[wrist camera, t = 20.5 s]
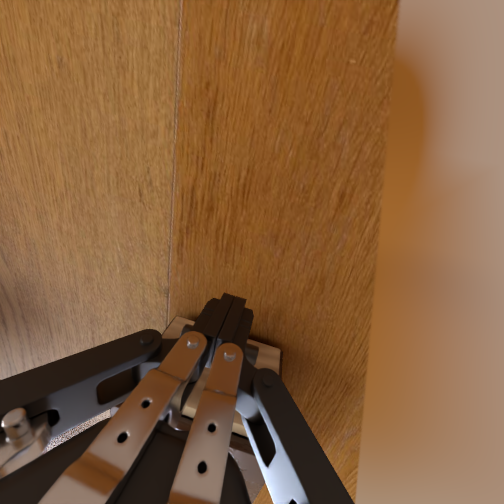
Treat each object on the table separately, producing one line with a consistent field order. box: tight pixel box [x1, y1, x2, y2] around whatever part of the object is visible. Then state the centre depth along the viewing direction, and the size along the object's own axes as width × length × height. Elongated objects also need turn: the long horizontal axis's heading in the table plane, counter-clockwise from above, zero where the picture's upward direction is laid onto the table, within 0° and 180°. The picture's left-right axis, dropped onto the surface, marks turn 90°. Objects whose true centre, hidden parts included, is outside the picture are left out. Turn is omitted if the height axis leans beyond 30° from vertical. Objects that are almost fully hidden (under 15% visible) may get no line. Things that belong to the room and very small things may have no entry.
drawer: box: [162, 316, 280, 440], centre depth 21 cm, size 18×11×8 cm, turn 166°
